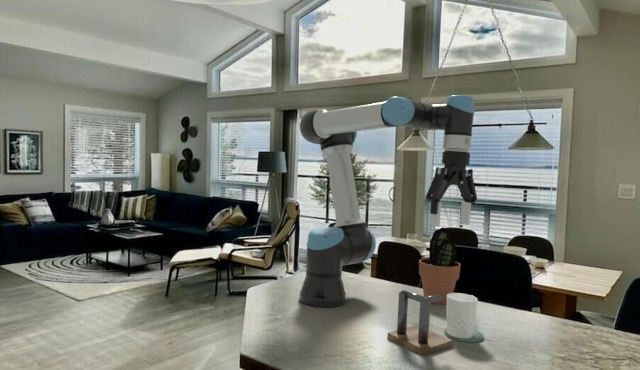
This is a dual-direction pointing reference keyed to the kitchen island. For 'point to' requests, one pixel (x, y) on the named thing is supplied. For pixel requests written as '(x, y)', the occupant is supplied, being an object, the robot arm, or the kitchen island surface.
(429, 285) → the potted plant
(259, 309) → the kitchen island surface
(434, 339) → the brown wooden board
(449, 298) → the white cup
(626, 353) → the kitchen island surface
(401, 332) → the bent wire
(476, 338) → the end coaster
